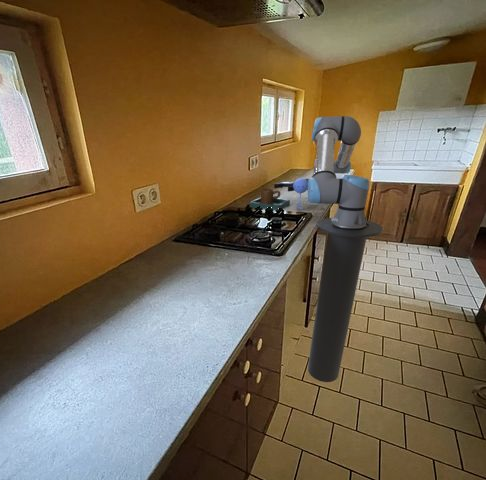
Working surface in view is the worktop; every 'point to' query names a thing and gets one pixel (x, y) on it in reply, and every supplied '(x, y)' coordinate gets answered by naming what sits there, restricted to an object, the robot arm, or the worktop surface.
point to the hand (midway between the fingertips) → (281, 187)
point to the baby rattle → (300, 188)
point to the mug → (268, 196)
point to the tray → (276, 204)
